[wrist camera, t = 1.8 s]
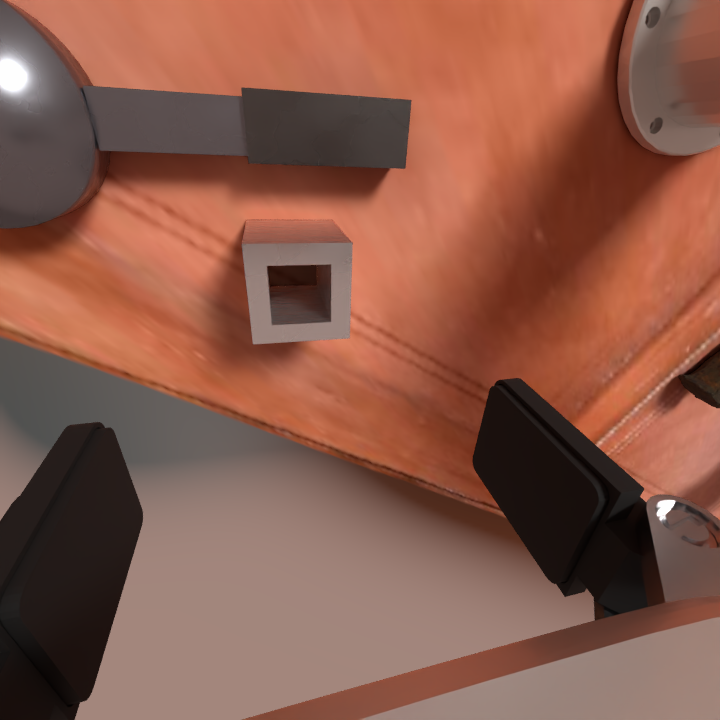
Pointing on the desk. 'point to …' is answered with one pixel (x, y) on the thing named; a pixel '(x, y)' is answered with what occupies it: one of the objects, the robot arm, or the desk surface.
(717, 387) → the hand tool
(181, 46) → the desk surface
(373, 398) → the desk surface
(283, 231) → the socket
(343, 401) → the desk surface
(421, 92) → the desk surface
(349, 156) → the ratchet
